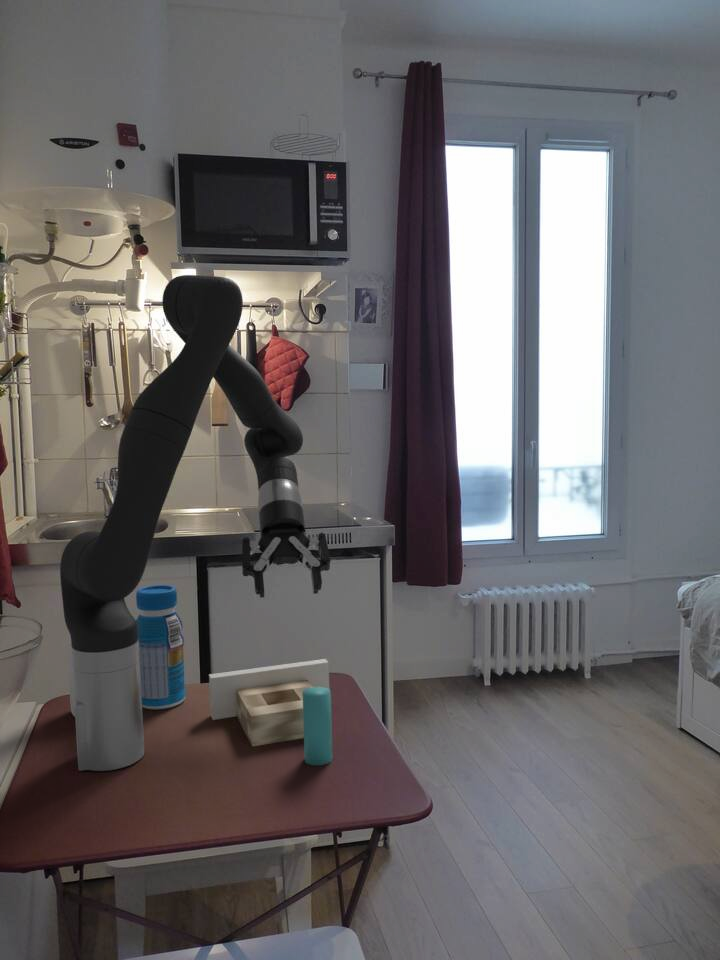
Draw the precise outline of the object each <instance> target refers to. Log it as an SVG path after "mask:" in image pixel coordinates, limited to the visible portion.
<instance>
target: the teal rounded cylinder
mask: <svg viewBox="0 0 720 960" xmlns="http://www.w3.org/2000/svg"><path fill="white" fill-rule="evenodd" d="M331 693H332V692H331V689H330V688H329V689H328V688H325V687H311V688H307V689H305V690H304V691H303V692H302V694H303V724H304V738H303V751H304V755H303V756H304V762H305V763H306V764H307V765H310V766H324V765H327V764H330V763H331V762H332V761H333V734H332V733H333V731H332V729H333V728H332V697H331Z"/></svg>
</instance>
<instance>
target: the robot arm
mask: <svg viewBox="0 0 720 960" xmlns="http://www.w3.org/2000/svg"><path fill="white" fill-rule="evenodd" d="M161 303H162V310H163V313H164V316H165V319H166V321H167V322H168V324H169V325H170V327H171V328H172V330H173V331H174V332H175V333H176V335H178V337H179V338H180V339H181V340H182V341H183V343H184V345H183V347H182V349H181V350H180V352H179V354H178V355H177V356H176V357H175V359H174V360H173V361H172V362H171V363H170V364H169V365H168V366H167V367H166V368H165V369H164V370H163V371H161V372H160V373H159V374H158V375H157V376H156V377H155V378H154V379H152V381H151V382H149V384H148V385H147V386H146V387H145V388H144V389H143V390H142V391H141V393H140V394H139V395H138V396H137V398H136V400H135V401H134V403H133V405H132V408H131V410H130V413H129V416H128V418H127V420H126V423H125V425H124V426H123V427H124V428H123V429H122V430H123V431H122V433H121V436H120V440H119V443H118V445H119V446H118V451H117V485H116V491H115V495H114V499H113V502H112V506H111V508H110V510H109V513H108V515H107V518H106V520H105V522H104V524H103V526H102V529H101V530H100V531H97V530H90V531H84V532H81V533H79V534H77V535H75V536H74V537H73V538H71V540H69V542H68V543H67V544H66V546H65V547H64V549H63V551H62V555H61V559H60V567H59V569H60V571H59V575H60V576H59V577H60V586H61V587H60V589H61V598H62V606H63V607H62V608H63V616H64V622H65V626H66V628H67V631H68V633H69V637H70V636H71V645H72V659H73V676H74V694H75V717H74V719H75V720H74V721H75V733H76V736H75V737H76V738H75V739H76V751H77V752H76V753H77V769H78V771H79V772H81V771H95V772H105V771H114V770H118V769H119V770H120V769H123V768H126V767H128V766H131V765H133V764H135V763H137V762H138V761H140V760H141V759H142V758H143V757H144V755H145V737H144V723H143V707H142V697H141V678H140V660H139V640H138V625H137V622H136V620H137V619H136V618H135V617H134V616H133V614H131V612H130V610H129V608H128V607H127V604H126V601H125V598H126V597H128V596H129V595H130V594H131V593H132V592H134V591H135V589H136V588H137V587H138V585H139V583H140V582H141V580H142V578H143V576H144V574H145V569H146V567H147V564H148V559H149V556H150V552H151V548H152V544H153V541H154V537H155V533H156V531H157V530H156V529H157V526H158V522H159V520H160V519H159V518H160V516H161V512H162V510H163V507H164V504H165V502H166V498H168V494H169V491H170V490H171V489H170V488H171V486H172V483H173V480H174V478H175V475H176V473H177V472H176V471H177V470H178V466H179V464H180V461H181V459H182V458H183V455H184V453H185V450H186V449H187V445H188V443H189V440H190V437H191V435H192V433H193V429H194V427H195V426H194V425H195V423H196V420H197V418H198V414H199V412H200V409H201V406H202V403H203V402H204V400H205V396H206V394H207V392H208V389H209V387H210V386H211V385H210V384H211V383H212V380H213V379H214V380H215V381H216V383H217V384H218V386H219V387H220V389H221V391H222V392H223V394H224V396H225V397H226V398H227V400H228V403H229V404H230V405H231V407H232V409H233V411H234V412H235V415H236V416H237V418H238V420H239V421H240V422H241V424H242V425H243V426H244V427H246V428H248V430H247V431H246V433H245V436H244V439H243V440H244V446H245V449H246V452H247V454H248V456H249V458H250V459H251V462H252V464H253V467H254V470H255V473H256V478H257V479H256V480H257V489H258V490H257V491H258V498H257V505H258V506H257V507H258V511H257V513H258V519H259V520H258V521H259V533H260V538H259V540H251V539H250V538H249V537H244V538H243V539H242V540H241V541H242V547H241V548H242V550H241V552H242V553H241V569H242V571H241V572H242V576H244V577H249V576H250V577H252V578H253V580H254V592H255V594H256V595H259V598H260V599H261V598H265V583H264V574H265V572H267V571H268V570H269V569H270V568H271V567H272V566H273V564H276V566H279V565H280V566H282V565H284V564H288V565H295V564H296V563H297V562H298V563H299V565H300V566H302V567H303V568H305V569H307V570H308V571H309V572H310V576H311V585H312V586H311V587H312V592H313V593H312V594H319V591H321V590H322V586H323V580H322V574H321V573H322V572H324V571H325V572H328V571H329V570H330V568H331V560H332V559H331V555H330V551H329V546H328V540H327V536H326V534H325V533H324V532H319V533H318V535H317V536H310V537H309V536H308V534H307V533H306V524H305V523H306V522H305V516H304V515H305V514H304V507H303V501H302V496H301V493H300V489H299V480H298V473H297V468H296V465H295V463H294V462H293V461H292V460H291V459H290V458H287V457H290V456H293V455H295V454H297V453H298V452H300V450H301V449H302V447H303V443H304V437H303V433H302V432H303V431H302V430H301V428H300V427H299V424H298V423H297V422H296V420H294V418H293V417H292V416H291V415H289V414H288V412H286V411H285V410H284V408H282V407H281V406H280V405H279V404H278V403H277V402H276V400H275V399H274V397H273V394H272V393H271V392H270V389H269V387H268V385H267V384H266V383H267V382H266V381H265V380H264V378H263V377H262V375H261V374H260V372H259V371H258V370H257V369H256V368H255V367H254V366H253V365H252V364H251V363H250V362H249V361H248V360H247V359H246V358H245V357H243V356H242V354H240V353H239V352H238V351H237V350H236V349H234V347H232V346H231V344H230V343H231V342H232V339H233V338H234V335H235V334H236V331H237V329H238V326H239V324H240V322H241V318H242V313H243V306H244V304H243V303H244V301H243V295H242V290H241V288H240V286H239V285H238V283H237V282H235V281H234V280H233V279H231V278H228V277H223V276H216V275H214V276H213V275H197V274H194V275H193V274H183V275H178V276H175V277H173V278H172V279H171V280H169V281H168V283H167V284H166V286H165V288H164V290H163V293H162V301H161ZM310 546H312V547H313V548H314V550H315V551H318V554H319V559H320V560H318V559H317V558H316V557H315V556H314V555H313V554H312V552H311V551H310V550H309V547H310ZM256 550H259V551H260V552H261V553H262V554H261V556H260V558H259V560H258V561H257V562H256V563H255V564H251V556H253V555H254V554H255V552H256Z"/></svg>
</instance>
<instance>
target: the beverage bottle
mask: <svg viewBox="0 0 720 960" xmlns="http://www.w3.org/2000/svg"><path fill="white" fill-rule="evenodd" d="M177 591H178V590H177V589H176V587H175V586H173V585H167V584H161V585H160V584H157V585H155V584H154V585H149V586H144V587H141V588H139V589H137V590H136V594H135V595H136V596H135V597H136V598H135V599H136V600H135V603H136V608H137V610H138V611H139V612H140V613H139V615H138V616H137V618H136V619H135V620H136V622H137V625H138V640H139V660H140V678H141V697H142V709H147V710H164V709H170V708H173V707H177V706H179V705H180V704H182V703H183V702H184V701H185V700H186V687H185V684H186V683H185V660H184V659H185V657H184V645H185V639H184V638H185V637H184V635H183V634H182V630H183V622H182V620H181V618H180V615H179V614H178V612H177V611H175V608H177V606H178V605H177V604H178V596H177V595H178V594H177V593H178V592H177Z"/></svg>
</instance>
